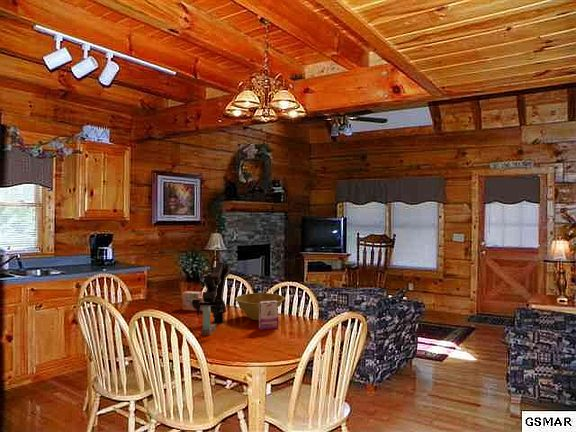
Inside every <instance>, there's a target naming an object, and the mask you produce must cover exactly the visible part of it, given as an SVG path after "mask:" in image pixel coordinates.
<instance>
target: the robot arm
mask: <svg viewBox="0 0 576 432" xmlns="http://www.w3.org/2000/svg"><path fill="white" fill-rule="evenodd" d="M230 272H231V266H230V265H229V264H228V263H225V262H224V261H223V262H222V261H217V262H216V266H215V267H214V270H213V272H211V273H210V274H208V275H207V276H206V277H204V279H203V284H204V286H205V289H206V291H203V292H202V298H203V301H204V302H200V300H198V299H194V300H192V305H193V308H195V309H197V311H196V316H197V317H198V318H199V317H200V312H201V311H200V307H201V305H206V306H211V311H210V314H212V313H213V314H212V317H213V321H211V324H223V323H224V322H225V319H224V313H227V307H226V304H225V300H224V299H223V298H224V290H225V284H226V279H227V277H228V276H229V273H230Z"/></svg>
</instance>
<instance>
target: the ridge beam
mask: <svg viewBox="0 0 576 432" xmlns="http://www.w3.org/2000/svg"><path fill="white" fill-rule="evenodd" d="M217 324H218V323H210V330H203V328H202V329H200V335H201V336H205V335H207V336H208V337H210V336H211V335H212V334H213V333H214V332H215V331H216V330H217V326H218V325H217Z"/></svg>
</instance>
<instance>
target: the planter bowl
mask: <svg viewBox="0 0 576 432" xmlns="http://www.w3.org/2000/svg"><path fill="white" fill-rule="evenodd" d="M234 300H235V301H236V302H237V305H238V306H239V308H241V309H242V310H243V313H244V314H245V316H246V317H247V318H248V319H250V320H253V321H259V302H260V301H275V300H276V301H277V302H278V308H279V307H281V306H282V303H283V301H284V300H285V297H284V296H283V295H282V294H277V293H270V292H269V293H268V292H253V293H245V294H240V295H238V296H236V297H235V299H234Z"/></svg>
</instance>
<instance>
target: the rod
mask: <svg viewBox="0 0 576 432" xmlns="http://www.w3.org/2000/svg"><path fill="white" fill-rule="evenodd" d="M210 324H211V311H210V306H204V307H203V311H202V329H203V330H210Z"/></svg>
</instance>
